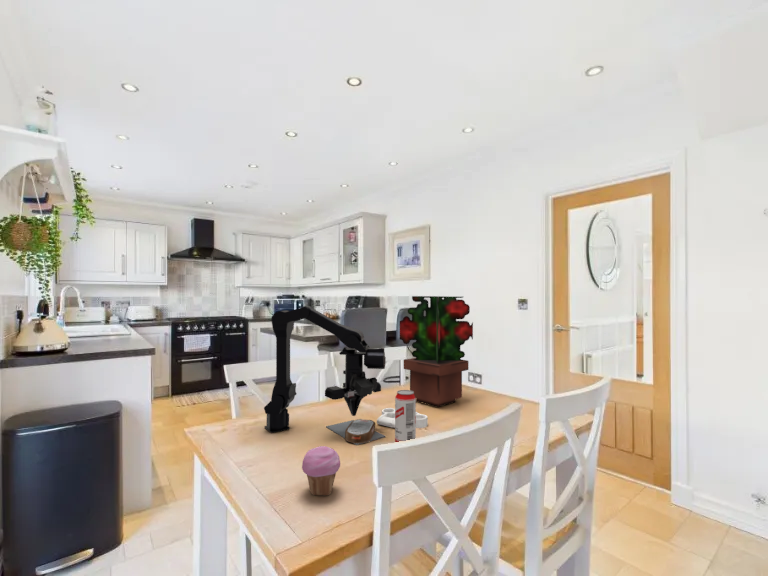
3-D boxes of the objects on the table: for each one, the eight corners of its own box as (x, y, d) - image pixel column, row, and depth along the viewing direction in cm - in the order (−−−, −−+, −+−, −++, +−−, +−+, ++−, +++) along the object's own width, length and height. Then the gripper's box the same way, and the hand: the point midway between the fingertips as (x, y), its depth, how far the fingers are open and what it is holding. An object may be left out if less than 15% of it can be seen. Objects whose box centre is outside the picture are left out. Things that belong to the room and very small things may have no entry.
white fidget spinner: (369, 424, 132) (391, 413, 144) (414, 435, 122) (433, 423, 134) (369, 415, 132) (391, 405, 144) (414, 425, 122) (433, 413, 134)
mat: (356, 445, 113) (356, 443, 113) (326, 427, 128) (326, 426, 128) (385, 437, 119) (385, 435, 119) (353, 421, 134) (353, 419, 134)
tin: (341, 442, 114) (368, 446, 113) (342, 431, 114) (369, 435, 113) (353, 425, 129) (377, 428, 127) (353, 416, 129) (377, 419, 127)
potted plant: (432, 392, 176) (433, 296, 177) (472, 402, 159) (472, 296, 160) (399, 400, 161) (399, 296, 162) (439, 412, 144) (440, 296, 145)
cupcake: (339, 501, 82) (339, 455, 82) (299, 503, 81) (299, 456, 81) (340, 481, 91) (341, 439, 91) (304, 482, 90) (305, 440, 90)
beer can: (401, 450, 109) (401, 395, 109) (391, 443, 114) (391, 390, 115) (419, 447, 112) (419, 393, 112) (408, 439, 117) (408, 388, 118)
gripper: (342, 375, 112) (341, 428, 111) (391, 368, 123) (390, 416, 123) (324, 369, 120) (323, 418, 120) (371, 363, 132) (371, 408, 131)
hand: (353, 415), depth 123 cm, fingers closed
